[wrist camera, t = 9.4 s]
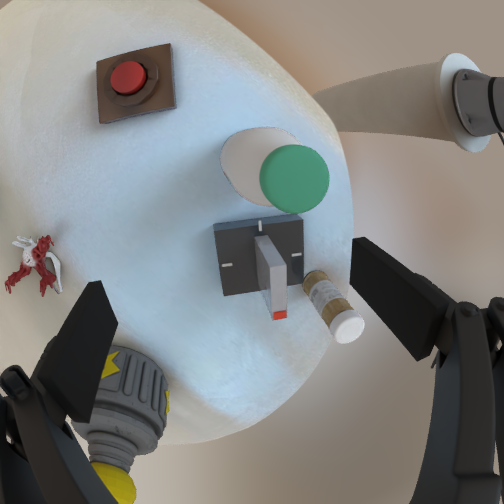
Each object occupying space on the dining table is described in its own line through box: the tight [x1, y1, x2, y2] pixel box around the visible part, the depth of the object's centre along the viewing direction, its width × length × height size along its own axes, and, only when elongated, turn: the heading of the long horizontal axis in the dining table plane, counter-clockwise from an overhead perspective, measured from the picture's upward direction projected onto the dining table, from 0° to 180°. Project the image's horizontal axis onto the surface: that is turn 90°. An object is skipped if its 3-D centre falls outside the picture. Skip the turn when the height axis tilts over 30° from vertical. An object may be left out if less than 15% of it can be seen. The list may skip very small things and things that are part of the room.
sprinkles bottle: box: [303, 271, 365, 344], centre depth 38 cm, size 5×5×13 cm
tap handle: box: [254, 235, 287, 320], centre depth 33 cm, size 7×2×9 cm, turn 5°
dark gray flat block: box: [213, 214, 304, 296], centre depth 39 cm, size 12×11×3 cm
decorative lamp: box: [71, 346, 169, 504], centre depth 33 cm, size 19×19×30 cm
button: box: [111, 61, 146, 94], centre depth 24 cm, size 4×4×2 cm
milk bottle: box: [220, 127, 329, 213], centre depth 26 cm, size 8×8×20 cm
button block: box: [97, 43, 176, 124], centre depth 26 cm, size 10×9×4 cm
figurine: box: [5, 235, 63, 297], centre depth 32 cm, size 15×12×7 cm
